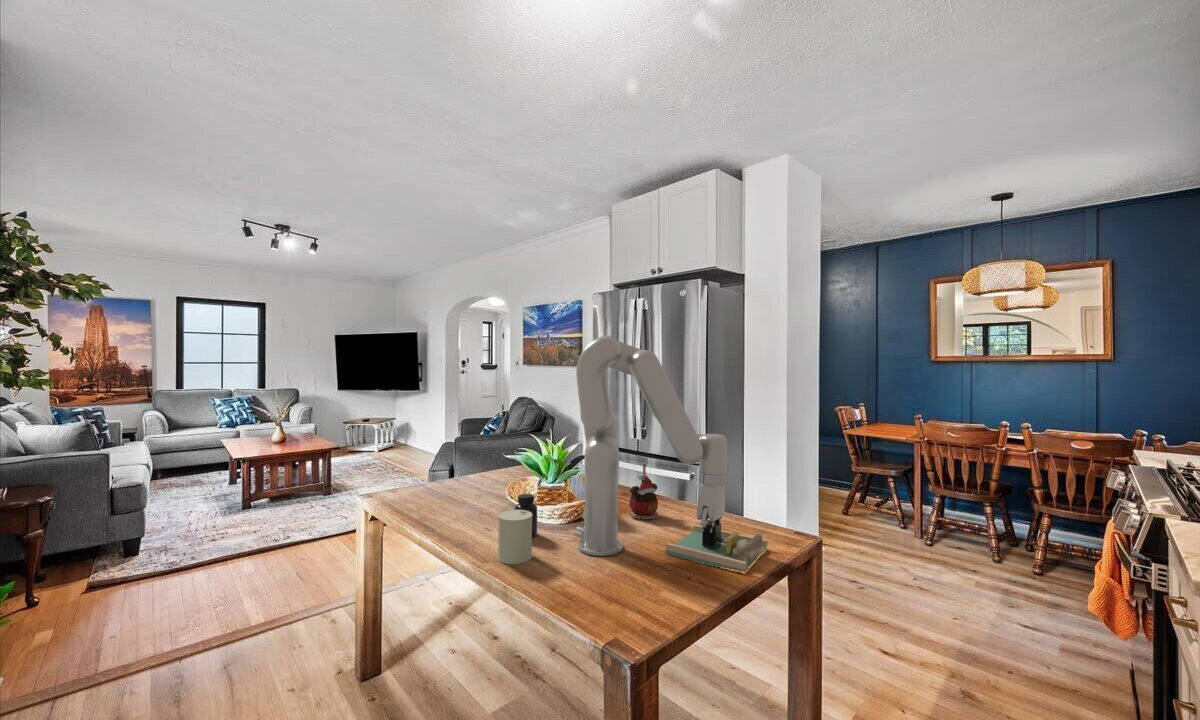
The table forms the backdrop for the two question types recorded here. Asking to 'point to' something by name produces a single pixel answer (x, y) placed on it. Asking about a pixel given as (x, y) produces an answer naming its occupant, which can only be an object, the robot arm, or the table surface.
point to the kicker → (723, 539)
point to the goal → (749, 549)
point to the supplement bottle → (528, 509)
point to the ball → (742, 545)
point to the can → (515, 536)
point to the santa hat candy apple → (644, 498)
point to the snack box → (578, 484)
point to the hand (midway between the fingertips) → (711, 542)
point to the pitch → (709, 550)
